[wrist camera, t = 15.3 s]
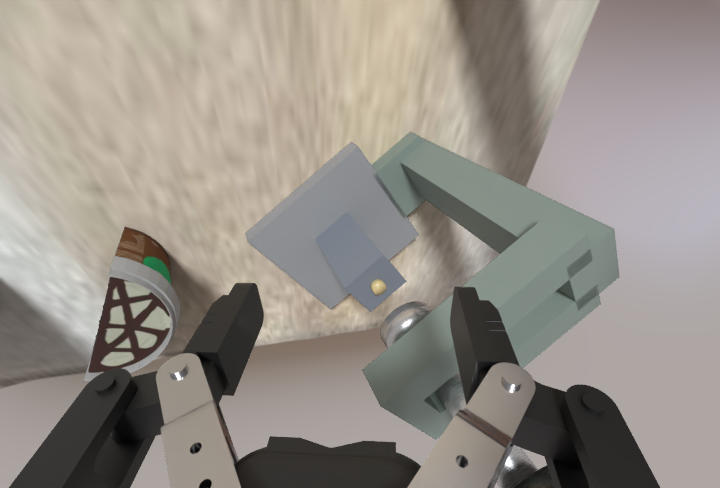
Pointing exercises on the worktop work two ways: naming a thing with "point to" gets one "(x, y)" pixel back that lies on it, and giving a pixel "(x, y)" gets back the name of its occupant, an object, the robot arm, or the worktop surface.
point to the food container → (135, 307)
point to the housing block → (359, 262)
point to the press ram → (519, 474)
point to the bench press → (494, 283)
